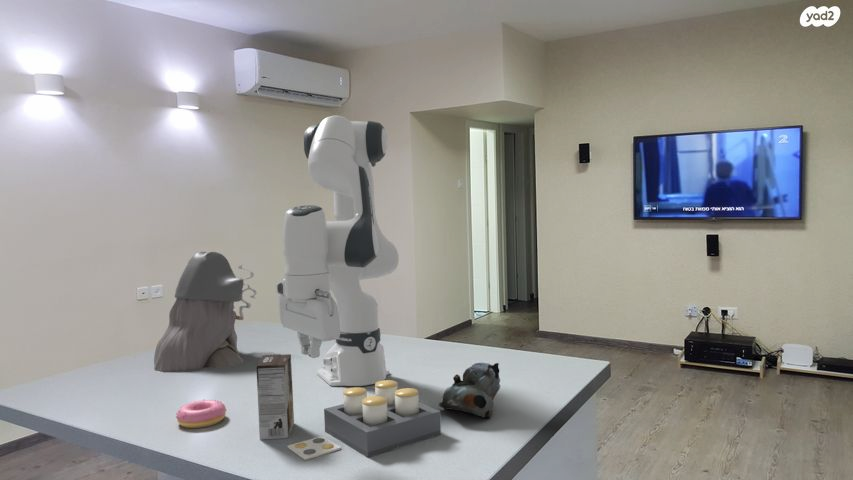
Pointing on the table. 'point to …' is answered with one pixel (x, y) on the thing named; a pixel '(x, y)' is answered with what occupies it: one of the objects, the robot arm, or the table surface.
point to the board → (382, 429)
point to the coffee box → (275, 396)
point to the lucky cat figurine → (474, 390)
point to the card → (314, 447)
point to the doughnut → (201, 413)
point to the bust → (203, 317)
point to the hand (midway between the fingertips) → (310, 355)
